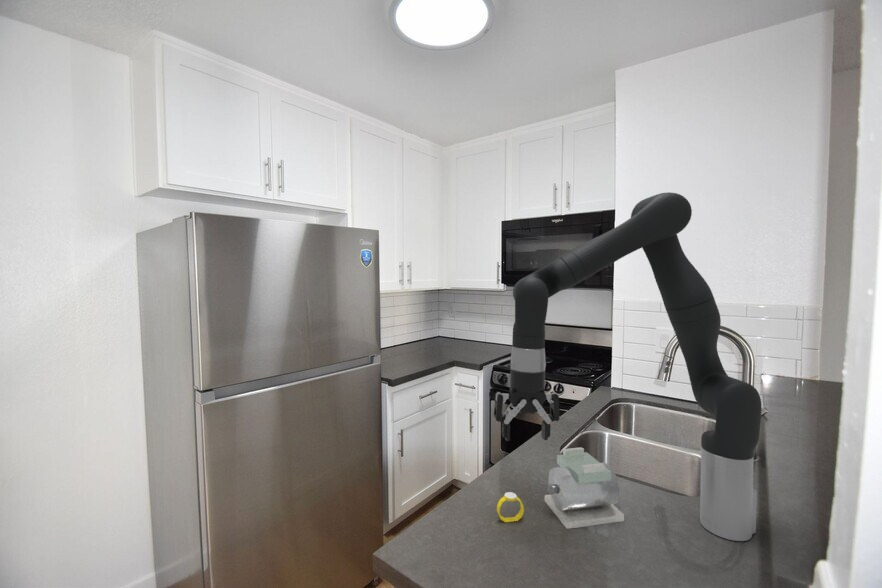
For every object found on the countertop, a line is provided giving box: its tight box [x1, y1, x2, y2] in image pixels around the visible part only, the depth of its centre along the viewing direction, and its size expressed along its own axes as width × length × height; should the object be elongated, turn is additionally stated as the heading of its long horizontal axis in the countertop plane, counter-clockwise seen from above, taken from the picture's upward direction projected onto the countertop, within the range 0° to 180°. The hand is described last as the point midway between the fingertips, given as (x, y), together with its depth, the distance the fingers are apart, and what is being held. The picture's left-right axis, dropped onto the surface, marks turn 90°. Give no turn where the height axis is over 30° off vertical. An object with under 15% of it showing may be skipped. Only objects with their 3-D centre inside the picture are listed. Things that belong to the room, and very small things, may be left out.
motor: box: [544, 447, 625, 530], centre depth 92 cm, size 16×11×13 cm
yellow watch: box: [496, 491, 525, 523], centre depth 89 cm, size 6×3×6 cm, turn 97°
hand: (525, 439), depth 87 cm, fingers open, 8 cm apart
